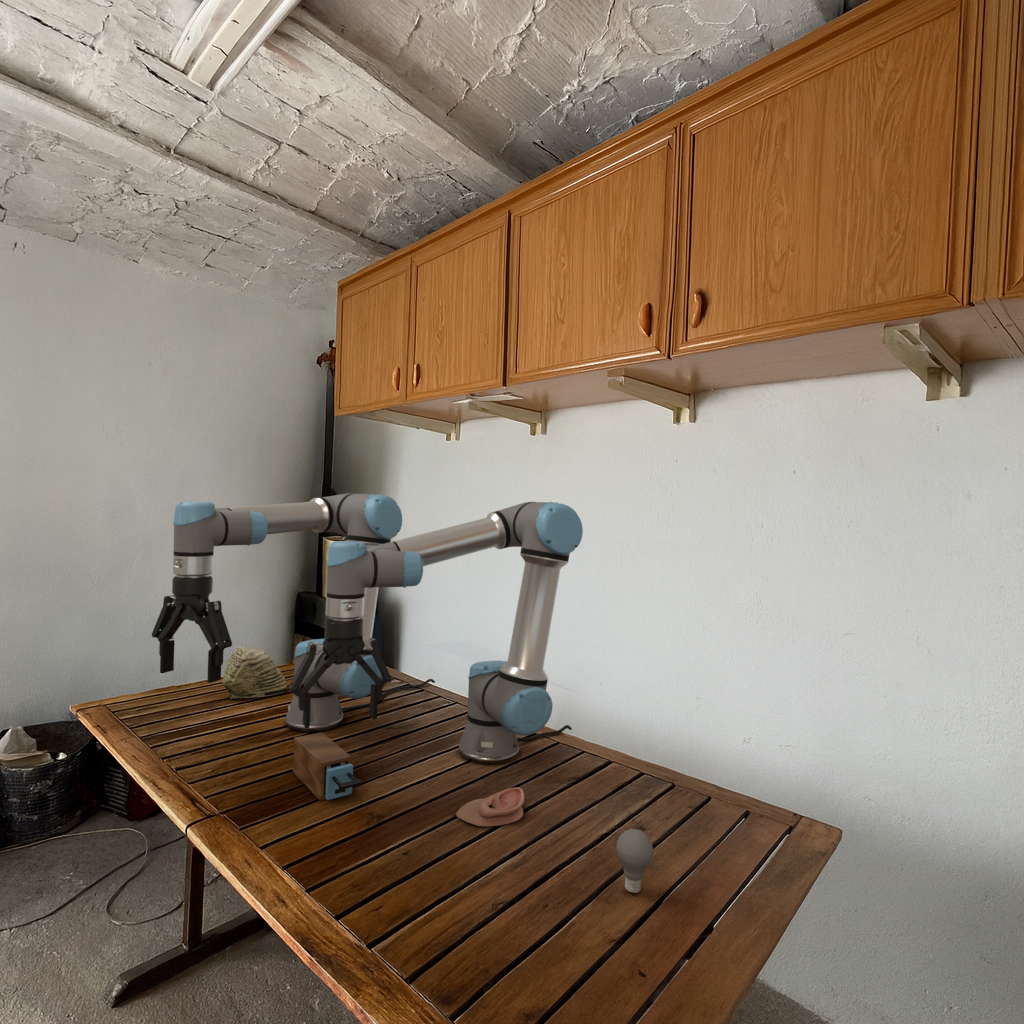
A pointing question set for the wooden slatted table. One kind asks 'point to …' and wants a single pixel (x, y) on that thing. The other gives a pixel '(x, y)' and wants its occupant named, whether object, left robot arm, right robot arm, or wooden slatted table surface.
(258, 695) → the fossil
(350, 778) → the drawer
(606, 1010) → the wooden slatted table surface
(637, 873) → the light bulb
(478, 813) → the anatomical model
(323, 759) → the cabinet
